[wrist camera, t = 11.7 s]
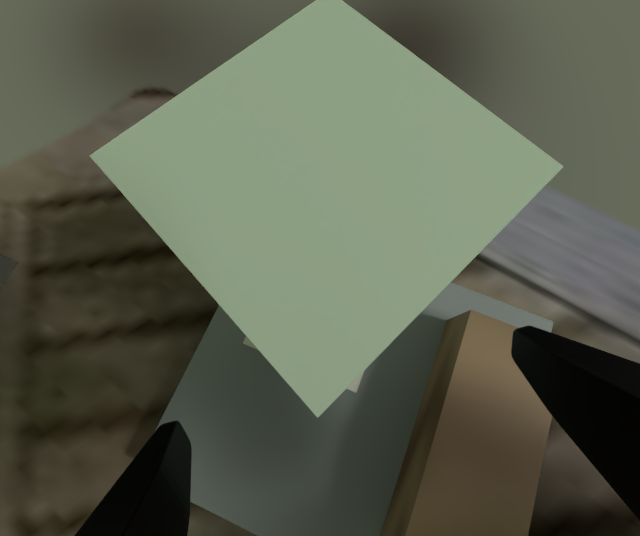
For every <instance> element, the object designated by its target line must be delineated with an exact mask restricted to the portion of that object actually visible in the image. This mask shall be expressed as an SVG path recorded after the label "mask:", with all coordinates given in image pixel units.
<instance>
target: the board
mask: <svg viewBox="0 0 640 536" xmlns="http://www.w3.org/2000/svg"><path fill="white" fill-rule="evenodd" d="M471 309H472V310H474V311H477V312H479V313H482V314H484V315H487V316H489V317H492V318H495V319H497V320H500V321H502V322H505V323H507V324H510V325H513V326H515V327H518V328H520V327H524V326H534V327H536V328H539V329H542V330H545V331H548V332H551V331H552V326H553V321H550V320H548V319H545V318H542V317H540V316H537V315H535V314H532V313H529V312H527V311H524V310H522V309H519V308H516V307H514V306H511V305H509V304H506V303H503V302H501V301H498V300H496V299H493V298H490V297H488V296H485V295H483V294H480V293H477V292H475V291H472V290H470V289H467V288H464V287H462V286H459V285H457V284H454V283H451V282H450V283H449V284H448V285H447V286H446V287H445V288H444V289H443V290H442V291H441V292H440V293H439V294H438V296H437V297H436V298H435V299H434V300H433V301H432V302H431V303H430V304H429V305H428V306H427V307H426V308H425V309H424V310H423V311H422V312H421V313H420V314H419V315H418V316H417V317H416V318H415V319H414V320H413V321H412V322H411V323H410V324H409V325H408V326H407V327H406V328H405V329H404V330H403V331H402V332H401V333H400V334H399V335H398V336H397V337H396V338H395V339H394V340H393V341H392V343H391V344H390V345H389V346H388V347H387V348H386V349H385V350H384V351H383V352H382V353H381V354H380V355H379V356H378V357H377V358H376V359H375V360H374V361H373V362H372V363H371V364H370V365H369V366H368V367H367V368H366V369H365V370H364V371H363V372H362V373H361V374H360V375H359V376H358V377H357V378H356V379H355V380H354V381H353V382H352V383H351V384H350V385H349V386H348V387H347V388H346V389H345V391H344V392H343V393H342V394H341V395H340V396H339V397H338V398H337V399H336V400H335V401H334V402H333V403H332V404H331V405H330V406H329V407H328V408H327V409H326V410H325V411H324V412H323V413H322V414H321V415H320V416H319V417H318V418H317V417H316V415H315V414H314V413H313V412H312V411H311V410H310V409H309V407H308V406H307V405H306V404H305V403H304V402H303V400H302V399H301V398H300V397H299V396H298V395H297V394H296V392H295V391H294V390H293V389H292V388H291V387H290V386H289V384H288V383H287V382H286V381H285V380H284V379H283V378H282V376H281V375H280V374H279V373H278V372H277V371H276V369H275V368H274V367H273V366H272V365H271V364H270V363H269V361H268V360H267V359H266V358H265V357H264V356H263V355H262V353H261V352H260V351H259V350H258V349H257V348H256V346H255V345H254V344H253V343H252V342H251V341H250V340H249V338H248V337H247V336H246V335H245V334H244V333H243V332H242V330H241V329H240V328H239V327H238V326H237V325H236V324H235V322H234V321H233V320H232V319H231V318H230V317H229V315H228V314H227V313H226V312H225V311H224V310H223V309H222V307H221V306H220V305H219V306H218V308H217V310H216V312H215V314H214V316H213V318H212V320H211V322H210V324H209V326H208V328H207V330H206V332H205V334H204V336H203V338H202V340H201V342H200V344H199V346H198V348H197V349H196V351H195V353H194V355H193V357H192V359H191V361H190V363H189V365H188V367H187V369H186V371H185V373H184V375H183V377H182V379H181V381H180V383H179V385H178V387H177V389H176V391H175V393H174V395H173V397H172V399H171V400H170V402H169V404H168V406H167V408H166V410H165V412H164V414H163V416H162V418H161V420H160V422H159V424H158V426H157V428H158V427H159V426H160V425H162V424H164V423H168V422H171V421H175V420H176V421H179V422H180V423H181V425H182V427H183V428H184V430H185V432H186V434H187V436H188V438H189V440H190V442H191V447H192V460H191V495H190V502H192V503H194V504H196V505H198V506H200V507H202V508H204V509H206V510H208V511H210V512H212V513H214V514H216V515H218V516H220V517H222V518H224V519H226V520H227V521H229V522H231V523H233V524H235V525H237V526H239V527H241V528H243V529H245V530H247V531H249V532H251V533H253V534H255V535H257V536H380V535H381V531H382V528H383V525H384V522H385V518H386V515H387V512H388V509H389V505H390V502H391V499H392V496H393V493H394V489H395V486H396V483H397V480H398V476H399V473H400V470H401V467H402V463H403V460H404V457H405V454H406V450H407V447H408V444H409V441H410V437H411V434H412V431H413V428H414V424H415V421H416V418H417V415H418V412H419V408H420V405H421V402H422V399H423V395H424V392H425V389H426V386H427V382H428V379H429V376H430V373H431V369H432V366H433V363H434V360H435V356H436V353H437V350H438V347H439V343H440V340H441V337H442V334H443V330H444V327H445V324H446V321H447V320H448V319H451V318H453V317H455V316H457V315H460V314H462V313H464V312H466V311H469V310H471ZM157 428H156V430H157ZM156 430H155V431H156Z"/></svg>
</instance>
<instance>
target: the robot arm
mask: <svg viewBox="0 0 640 536" xmlns="http://www.w3.org/2000/svg"><path fill="white" fill-rule="evenodd" d="M511 355H512V358H513V360H514V362H515V363H516V365H517V366H518V368H519V369H520V371H521V372H522V374H523V375H524V377H525V378H526V379H527V381H528V382H529V384H530V385H531V387H532V388H533V390H534V391H535V393H536V394H537V396H538V397H539V398H540V400H541V401H542V403H543V404H544V406H545V407H546V408H547V410H548V411H549V412H550V414H551V415H552V416H553V417H554V419H555V420H556V421H557V422H558V423H559V425H560V426H561V427H562V428H563V429H564V431H565V432H566V433H567V434H568V435H569V437H570V438H571V439H572V440H573V441H574V443H575V444H576V445H577V446H578V447H579V449H580V450H581V451H582V452H583V453H584V455H585V456H586V457H587V458H588V459H589V461H590V462H591V463H592V464H593V465H594V467H595V468H596V469H597V470H598V471H599V473H600V474H601V475H602V476H603V477H604V479H605V480H606V481H607V482H608V483H609V485H610V486H611V487H612V488H613V489H614V491H615V492H616V493H617V494H618V495H619V497H620V498H621V499H622V500H623V501H624V503H625V504H626V505H627V506H628V507H629V509H630V510H631V511H632V512H633V513H634V515H635V516H636V517H637V518H638V519H639V521H640V364H639V363H636V362H633V361H630V360H628V359H625V358H622V357H619V356H616V355H613V354H610V353H608V352H605V351H602V350H599V349H596V348H593V347H591V346H588V345H585V344H582V343H579V342H576V341H573V340H571V339H568V338H565V337H562V336H559V335H556V334H553V333H551V332H548V331H545V330H542V329H539V328H536V327H534V326H524V327H520V328H517V329H515V330H514V331H513V336H512V347H511ZM191 460H192V447H191V442H190V440H189V438H188V436H187V434H186V432H185V430H184V428H183V427H182V425H181V423H180V422H179V421H176V420H175V421H171V422H168V423H164V424H162V425H160V426H159V427H158V428H157V430H156V431H155V432H154V434H153V435H152V436H151V438H150V439H149V440H148V441H147V443H146V444H145V445H144V447H143V448H142V449H141V450H140V452H139V453H138V454H137V456H136V457H135V458H134V459H133V461H132V462H131V463H130V465H129V466H128V467H127V469H126V470H125V471H124V472H123V474H122V475H121V476H120V478H119V479H118V480H117V481H116V483H115V484H114V485H113V487H112V488H111V489H110V490H109V492H108V493H107V494H106V496H105V497H104V498H103V499H102V501H101V502H100V503H99V505H98V506H97V507H96V509H95V510H94V511H93V512H92V514H91V515H90V516H89V518H88V519H87V520H86V521H85V523H84V524H83V525H82V527H81V528H80V529H79V530H78V532H77V533H76V534H75V536H187V533H188V526H189V516H190V495H191Z"/></svg>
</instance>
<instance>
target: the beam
mask: <svg viewBox="0 0 640 536" xmlns="http://www.w3.org/2000/svg"><path fill="white" fill-rule="evenodd" d="M517 328H518V327H515V326H513V325H510V324H507V323H505V322H502V321H500V320H497V319H495V318H492V317H489V316H487V315H484V314H482V313H479V312H477V311H474V310H472V309H471V310H469V311H466V312H464V313H462V314H460V315H457V316H455V317H453V318H451V319H448V320H447V321H446V324H445V327H444V330H443V334H442V337H441V340H440V343H439V347H438V350H437V353H436V356H435V360H434V363H433V366H432V369H431V373H430V376H429V379H428V382H427V386H426V389H425V392H424V395H423V399H422V402H421V405H420V408H419V412H418V415H417V418H416V421H415V424H414V428H413V431H412V434H411V437H410V441H409V444H408V447H407V450H406V454H405V457H404V460H403V463H402V467H401V470H400V473H399V476H398V480H397V483H396V486H395V489H394V493H393V496H392V499H391V502H390V505H389V509H388V512H387V515H386V518H385V522H384V525H383V528H382V531H381V535H380V536H528V533H529V528H530V523H531V518H532V513H533V508H534V503H535V498H536V494H537V489H538V484H539V479H540V474H541V469H542V464H543V459H544V454H545V449H546V444H547V439H548V434H549V429H550V424H551V419H552V415H551V414H550V412H549V411H548V410H547V408H546V407H545V406H544V404H543V403H542V401H541V400H540V398H539V397H538V396H537V394H536V393H535V391H534V390H533V388H532V387H531V385H530V384H529V382H528V381H527V379H526V378H525V377H524V375H523V374H522V372H521V371H520V369H519V368H518V366H517V365H516V363H515V362H514V360H513V358H512V355H511V347H512V336H513V331H514V330H515V329H517Z"/></svg>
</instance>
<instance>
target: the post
mask: <svg viewBox="0 0 640 536" xmlns="http://www.w3.org/2000/svg"><path fill="white" fill-rule="evenodd" d="M90 157H91V158H92V159H93V160H94V161H95V163H96V164H97V165H98V166H99V167H100V168H101V170H102V171H103V172H104V173H105V174H106V175H107V176H108V178H109V179H110V180H111V181H112V182H113V183H114V184H115V186H116V187H117V188H118V189H119V190H120V191H121V193H122V194H123V195H124V196H125V197H126V198H127V199H128V201H129V202H130V203H131V204H132V205H133V206H134V207H135V209H136V210H137V211H138V212H139V213H140V214H141V215H142V217H143V218H144V219H145V220H146V221H147V222H148V224H149V225H150V226H151V227H152V228H153V229H154V230H155V232H156V233H157V234H158V235H159V236H160V237H161V238H162V240H163V241H164V242H165V243H166V244H167V245H168V247H169V248H170V249H171V250H172V251H173V252H174V253H175V255H176V256H177V257H178V258H179V259H180V260H181V261H182V263H183V264H184V265H185V266H186V267H187V268H188V269H189V271H190V272H191V273H192V274H193V275H194V276H195V278H196V279H197V280H198V281H199V282H200V283H201V284H202V286H203V287H204V288H205V289H206V290H207V291H208V292H209V294H210V295H211V296H212V297H213V298H214V299H215V301H216V302H217V303H218V304H219V305H220V306H221V307H222V309H223V310H224V311H225V312H226V313H227V314H228V315H229V317H230V318H231V319H232V320H233V321H234V322H235V324H236V325H237V326H238V327H239V328H240V329H241V330H242V332H243V333H244V334H245V335H246V336H247V337H248V338H249V340H250V341H251V342H252V343H253V344H254V345H255V346H256V348H257V349H258V350H259V351H260V352H261V353H262V355H263V356H264V357H265V358H266V359H267V360H268V361H269V363H270V364H271V365H272V366H273V367H274V368H275V369H276V371H277V372H278V373H279V374H280V375H281V376H282V378H283V379H284V380H285V381H286V382H287V383H288V384H289V386H290V387H291V388H292V389H293V390H294V391H295V392H296V394H297V395H298V396H299V397H300V398H301V399H302V400H303V402H304V403H305V404H306V405H307V406H308V407H309V409H310V410H311V411H312V412H313V413H314V414H315V415H316V417H317V418H318V417H319V416H320V415H321V414H322V413H323V412H324V411H325V410H326V409H327V408H328V407H329V406H330V405H331V404H332V403H333V402H334V401H335V400H336V399H337V398H338V397H339V396H340V395H341V394H342V393H343V392H344V391H345V389H346V388H347V387H348V386H349V385H350V384H351V383H352V382H353V381H354V380H355V379H356V378H357V377H358V376H359V375H360V374H361V373H362V372H363V371H364V370H365V369H366V368H367V367H368V366H369V365H370V364H371V363H372V362H373V361H374V360H375V359H376V358H377V357H378V356H379V355H380V354H381V353H382V352H383V351H384V350H385V349H386V348H387V347H388V346H389V345H390V344H391V343H392V341H393V340H394V339H395V338H396V337H397V336H398V335H399V334H400V333H401V332H402V331H403V330H404V329H405V328H406V327H407V326H408V325H409V324H410V323H411V322H412V321H413V320H414V319H415V318H416V317H417V316H418V315H419V314H420V313H421V312H422V311H423V310H424V309H425V308H426V307H427V306H428V305H429V304H430V303H431V302H432V301H433V300H434V299H435V298H436V297H437V296H438V294H439V293H440V292H441V291H442V290H443V289H444V288H445V287H446V286H447V285H448V284H449V283H450V282H451V281H452V280H453V279H454V278H455V277H456V276H457V275H458V274H459V273H460V272H461V271H462V270H463V269H464V268H465V267H466V266H467V265H468V264H469V263H470V262H471V261H472V260H473V259H474V258H475V257H476V256H477V255H478V254H479V253H480V252H481V251H482V250H483V249H484V247H485V246H486V245H487V244H488V243H489V242H490V241H491V240H492V239H493V238H494V237H495V236H496V235H497V234H498V233H499V232H500V231H501V230H502V229H503V228H504V227H505V226H506V225H507V224H508V223H509V222H510V221H511V220H512V219H513V218H514V217H515V216H516V215H517V214H518V213H519V212H520V211H521V210H522V209H523V208H524V207H525V206H526V205H527V204H528V203H529V202H530V200H531V199H532V198H533V197H534V196H535V195H536V194H537V193H538V192H539V191H540V190H541V189H542V188H543V187H544V186H545V185H546V184H547V183H548V182H549V181H550V180H551V179H552V178H553V177H554V176H555V175H556V174H557V173H558V172H559V171H560V170H561V169H562V168H563V166H562V165H561V164H560V163H558V162H557V161H556V160H554V159H553V158H552V157H550V156H549V155H548V154H546V153H545V152H543V151H542V150H541V149H539V148H538V147H537V146H536V145H534V144H533V143H532V142H530V141H529V140H528V139H526V138H525V137H524V136H522V135H521V134H520V133H518V132H517V131H515V130H514V129H513V128H512V127H510V126H509V125H507V124H506V123H505V122H503V121H502V120H501V119H500V118H498V117H497V116H495V115H494V114H493V113H491V112H490V111H489V110H487V109H486V108H485V107H484V106H482V105H481V104H479V103H478V102H477V101H476V100H474V99H473V98H471V97H470V96H469V95H467V94H466V93H465V92H464V91H462V90H461V89H459V88H458V87H457V86H456V85H454V84H453V83H452V82H450V81H449V80H448V79H446V78H445V77H443V76H442V75H441V74H439V73H438V72H437V71H435V70H434V69H433V68H432V67H430V66H429V65H427V64H426V63H425V62H423V61H422V60H421V59H419V58H418V57H417V56H415V55H414V54H413V53H411V52H410V51H409V50H407V49H406V48H405V47H403V46H402V45H401V44H399V43H398V42H397V41H395V40H394V39H393V38H391V37H390V36H389V35H387V34H386V33H385V32H383V31H382V30H381V29H379V28H378V27H377V26H375V25H374V24H372V23H371V22H370V21H369V20H367V19H366V18H365V17H363V16H362V15H361V14H359V13H358V12H357V11H355V10H354V9H353V8H351V7H350V6H349V5H347V4H346V3H345V2H343V1H342V0H316V1H315V2H313V3H312V4H310V5H309V6H307V7H306V8H304V9H303V10H301V11H300V12H298V13H297V14H295V15H294V16H293V17H291V18H290V19H288V20H287V21H285V22H284V23H282V24H281V25H279V26H278V27H277V28H275V29H274V30H272V31H271V32H269V33H268V34H266V35H265V36H264V37H262V38H261V39H259V40H258V41H256V42H255V43H253V44H252V45H250V46H249V47H247V48H246V49H244V50H243V51H242V52H240V53H239V54H237V55H236V56H235V57H233V58H231V59H230V60H229V61H227V62H226V63H224V64H223V65H221V66H220V67H218V68H217V69H215V70H214V71H212V72H211V73H209V74H208V75H207V76H205V77H204V78H202V79H201V80H199V81H198V82H196V83H195V84H193V85H192V86H191V87H189V88H188V89H186V90H185V91H183V92H182V93H180V94H179V95H177V96H176V97H174V98H173V99H171V100H170V101H169V102H167V103H166V104H164V105H163V106H161V107H160V108H158V109H157V110H155V111H154V112H152V113H151V114H150V115H148V116H147V117H145V118H144V119H142V120H141V121H139V122H138V123H136V124H135V125H134V126H132V127H131V128H129V129H128V130H126V131H125V132H123V133H122V134H120V135H119V136H117V137H116V138H115V139H113V140H112V141H110V142H109V143H107V144H106V145H104V146H103V147H101V148H100V149H98V150H97V151H96V152H94V153H93V154H91V155H90Z"/></svg>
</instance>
